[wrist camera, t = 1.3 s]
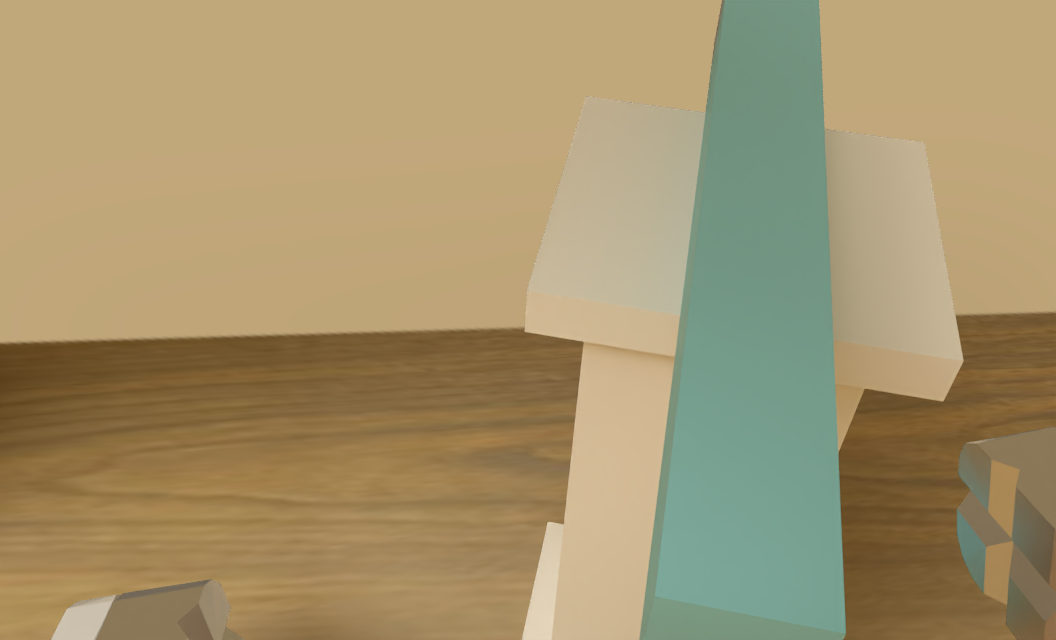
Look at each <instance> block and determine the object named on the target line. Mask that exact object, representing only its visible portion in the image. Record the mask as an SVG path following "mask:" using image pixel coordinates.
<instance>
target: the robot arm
mask: <svg viewBox="0 0 1056 640" xmlns="http://www.w3.org/2000/svg"><path fill="white" fill-rule="evenodd" d="M958 475H959V477H960V478H961V479H962V480H963V482H964V483H965V484H966V485H967V487H968V488H969V489H970V490H971V491H970V492H969V494H968V495H967V496H966V498H965V499H964V500H963V501H962V503H961V504H960V505H959V507H958V508H957V536H958V540H959V544H960V548H961V552H962V556H963V559H964V562H965V564H966V566H967V568H968V570H969V572H970V574H971V576H972V578H973V579H974V581H975V582H976V584H977V585H978V586H979V588H980V589H981V591H982V592H983V593H984V594H985V595H987V596H989V597H991V598H993V599H995V600H997V601H999V602H1001V603H1004V604H1006V605H1007V614H1006V625H1007V626H1008V628H1009V629H1010V631H1011V632H1012V633H1013V635H1014V636H1015V637H1016V639H1017V640H1056V426H1055V427H1049V428H1044V429H1039V430H1033V431H1028V432H1023V433H1017V434H1012V435H1006V436H1001V437H996V438H990V439H985V440H980V441H974V442H969V443H964V446H963V448H962V451H961V453H960V456H959V472H958ZM230 609H231V606H230V604H229V602H228V600H227V597H226V595H225V593H224V591H223V588H222V586H221V584H220V583H218V582H216V581H214V580H212V579H211V580H204V581H198V582H192V583H185V584H179V585H173V586H167V587H160V588H154V589H148V590H141V591H135V592H129V593H123V594H122V595H113V596H107V597H101V598H95V599H89V600H84V601H78V602H76V603H75V604H73V605H72V606H70V607H69V608H67V610H66V611H65V613H64V615H63V617H62V619H61V621H60V623H59V625H58V627H57V629H56V631H55V633H54V635H53V637H52V639H51V640H244V639H243V638H242V637H240V636H239V635H237V634H236V633H234V632H233V631H231V630H230V629H228V628H226V623H227V620H228V616H229V612H230Z"/></svg>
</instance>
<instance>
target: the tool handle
mask: <svg viewBox="0 0 1056 640" xmlns="http://www.w3.org/2000/svg"><path fill="white" fill-rule="evenodd" d="M845 635H846V622H845V599H844V575H843V552H842V528H841V505H840V482H839V458H838V435H837V411H836V388H835V365H834V341H833V318H832V295H831V271H830V248H829V224H828V201H827V178H826V154H825V131H824V108H823V84H822V61H821V37H820V15H819V0H722V4H721V10H720V15H719V21H718V26H717V32H716V37H715V42H714V50H713V59H712V66H711V74H710V82H709V91H708V98H707V107H706V114H705V122H704V130H703V138H702V146H701V154H700V162H699V170H698V177H697V185H696V193H695V201H694V209H693V217H692V225H691V233H690V241H689V249H688V257H687V265H686V273H685V281H684V289H683V297H682V305H681V313H680V320H679V328H678V336H677V344H676V352H675V360H674V368H673V376H672V384H671V392H670V400H669V408H668V416H667V424H666V432H665V440H664V448H663V456H662V464H661V471H660V479H659V487H658V495H657V503H656V511H655V519H654V527H653V535H652V543H651V551H650V559H649V567H648V575H647V583H646V591H645V599H644V607H643V614H642V622H641V630H640V638H639V640H843V639H844V637H845Z"/></svg>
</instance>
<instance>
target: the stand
mask: <svg viewBox="0 0 1056 640" xmlns="http://www.w3.org/2000/svg"><path fill="white" fill-rule="evenodd" d="M705 114H706V112H698V111H691V110H684V109H676V108H668V107H662V106H654V105H647V104H639V103H632V102H625V101H618V100H610V99H603V98H595V97H589V96H586V97H585V100H584V104H583V107H582V110H581V114H580V117H579V120H578V124H577V127H576V130H575V134H574V137H573V140H572V143H571V146H570V150H569V153H568V156H567V160H566V163H565V166H564V169H563V173H562V177H561V180H560V183H559V186H558V189H557V192H556V196H555V199H554V202H553V206H552V209H551V212H550V216H549V219H548V222H547V225H546V229H545V232H544V235H543V239H542V242H541V245H540V248H539V252H538V255H537V258H536V261H535V265H534V268H533V271H532V275H531V278H530V281H529V284H528V288H527V295H526V315H525V332H529V333H535V334H541V335H547V336H553V337H559V338H565V339H571V340H577V341H583V342H584V344H583V353H582V362H581V371H580V381H579V390H578V399H577V408H576V417H575V427H574V436H573V445H572V454H571V464H570V473H569V482H568V491H567V500H566V510H565V519H564V525H563V524H558V523H553V522H548V524H547V529H546V533H545V538H544V542H543V547H542V551H541V556H540V560H539V565H538V569H537V574H536V578H535V583H534V587H533V592H532V596H531V601H530V606H529V610H528V615H527V619H526V624H525V628H524V633H523V637H522V640H639V638H640V630H641V622H642V614H643V607H644V599H645V591H646V583H647V575H648V567H649V559H650V551H651V543H652V535H653V527H654V519H655V511H656V503H657V495H658V487H659V479H660V471H661V464H662V456H663V448H664V440H665V432H666V424H667V416H668V408H669V400H670V392H671V384H672V376H673V368H674V360H675V352H676V344H677V336H678V328H679V320H680V313H681V305H682V297H683V289H684V281H685V273H686V265H687V257H688V249H689V241H690V233H691V225H692V217H693V209H694V201H695V193H696V185H697V177H698V170H699V162H700V154H701V146H702V138H703V130H704V122H705ZM824 131H825V154H826V178H827V201H828V224H829V248H830V271H831V295H832V318H833V341H834V365H835V388H836V411H837V435H838V452H839V450H840V448H841V445H842V443H843V440H844V438H845V435H846V433H847V431H848V428H849V426H850V423H851V421H852V418H853V416H854V413H855V411H856V409H857V406H858V404H859V401H860V399H861V396H862V394H863V392H864V389H871V390H877V391H883V392H889V393H895V394H901V395H907V396H913V397H919V398H925V399H931V400H937V401H944V399H945V397H946V395H947V393H948V391H949V389H950V387H951V385H952V383H953V381H954V379H955V377H956V375H957V373H958V371H959V369H960V367H961V365H962V363H963V355H962V350H961V344H960V339H959V333H958V328H957V322H956V316H955V311H954V305H953V300H952V294H951V288H950V283H949V277H948V272H947V266H946V261H945V255H944V250H943V244H942V238H941V233H940V227H939V222H938V216H937V210H936V205H935V199H934V194H933V188H932V182H931V177H930V172H929V166H928V160H927V154H926V149H925V143H924V142H918V141H911V140H903V139H896V138H889V137H881V136H873V135H866V134H859V133H852V132H845V131H837V130H829V129H824Z"/></svg>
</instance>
